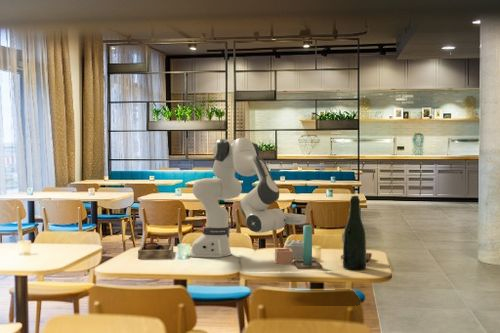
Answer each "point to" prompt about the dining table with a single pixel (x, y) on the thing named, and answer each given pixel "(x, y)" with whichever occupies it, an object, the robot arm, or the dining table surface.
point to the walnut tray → (300, 266)
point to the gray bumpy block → (296, 248)
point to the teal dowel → (307, 245)
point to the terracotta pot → (283, 256)
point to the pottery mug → (152, 246)
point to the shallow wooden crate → (156, 252)
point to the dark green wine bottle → (354, 239)
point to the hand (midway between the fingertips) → (293, 215)
